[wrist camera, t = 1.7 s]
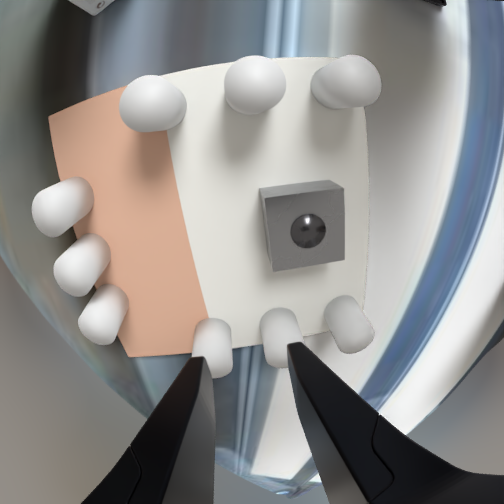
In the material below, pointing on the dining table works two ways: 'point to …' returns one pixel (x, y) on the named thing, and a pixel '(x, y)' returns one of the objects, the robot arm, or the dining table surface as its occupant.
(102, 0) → the skincare box
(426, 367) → the dining table surface
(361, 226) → the board
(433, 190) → the dining table surface
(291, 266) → the nut
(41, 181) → the dining table surface
